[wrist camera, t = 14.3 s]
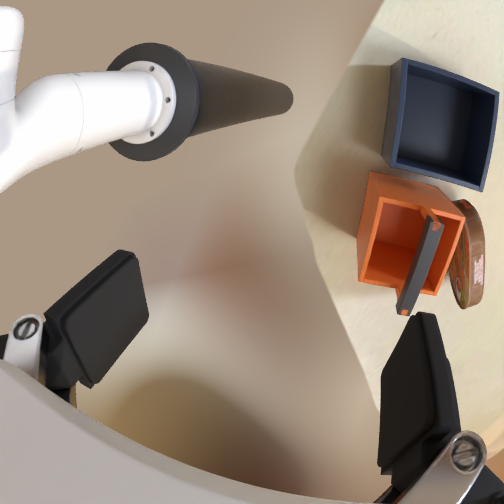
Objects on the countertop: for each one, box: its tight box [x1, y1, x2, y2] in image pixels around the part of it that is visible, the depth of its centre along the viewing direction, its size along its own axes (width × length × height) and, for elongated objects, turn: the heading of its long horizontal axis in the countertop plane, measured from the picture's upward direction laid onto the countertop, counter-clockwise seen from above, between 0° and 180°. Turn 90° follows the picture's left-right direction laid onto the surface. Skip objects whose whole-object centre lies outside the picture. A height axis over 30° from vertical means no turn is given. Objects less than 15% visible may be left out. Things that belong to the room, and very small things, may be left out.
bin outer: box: [381, 58, 499, 192], centre depth 25 cm, size 12×12×7 cm
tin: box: [448, 199, 485, 309], centre depth 31 cm, size 15×3×8 cm, turn 22°
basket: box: [356, 171, 466, 316], centre depth 29 cm, size 10×10×15 cm
